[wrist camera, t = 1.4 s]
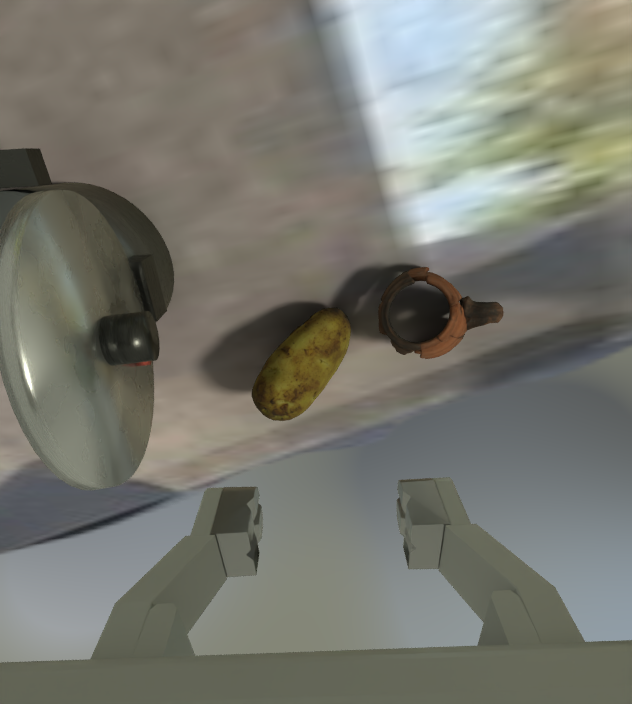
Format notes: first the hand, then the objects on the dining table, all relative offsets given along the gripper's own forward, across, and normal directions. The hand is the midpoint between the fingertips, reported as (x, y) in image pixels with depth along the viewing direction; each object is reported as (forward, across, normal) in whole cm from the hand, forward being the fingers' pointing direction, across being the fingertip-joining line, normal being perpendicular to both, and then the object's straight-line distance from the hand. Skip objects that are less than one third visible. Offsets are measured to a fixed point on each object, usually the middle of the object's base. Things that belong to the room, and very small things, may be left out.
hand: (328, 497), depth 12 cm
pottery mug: (+32, -12, +6) cm, 34 cm away
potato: (+31, +2, +11) cm, 33 cm away
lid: (+12, +14, 0) cm, 18 cm away
